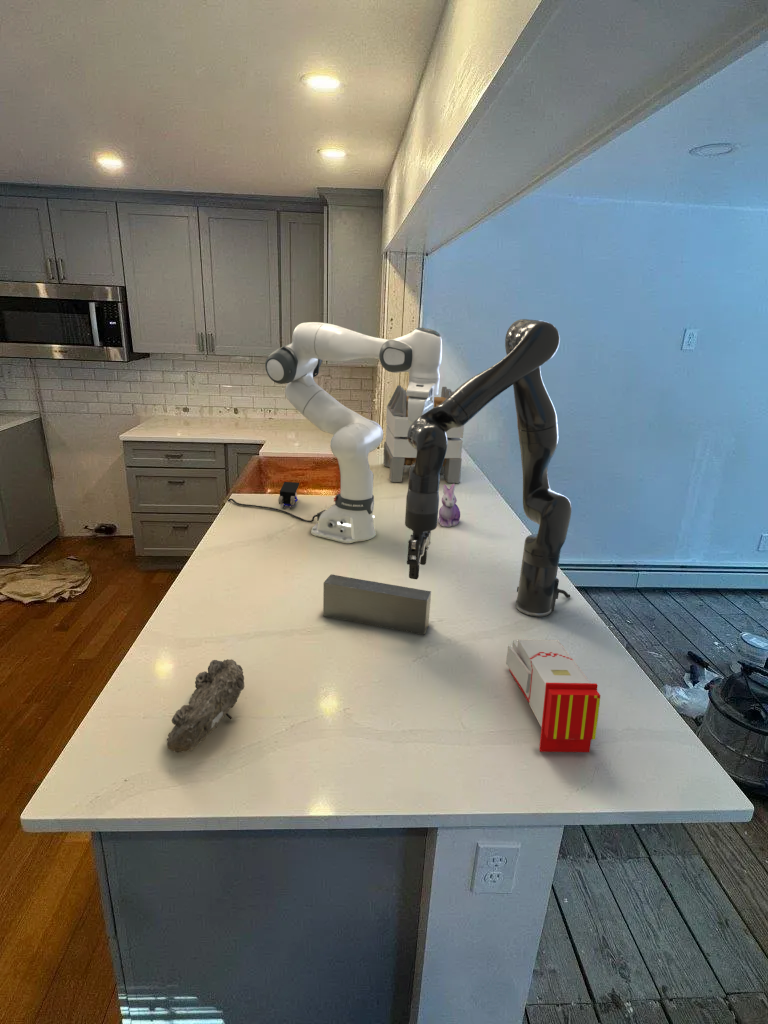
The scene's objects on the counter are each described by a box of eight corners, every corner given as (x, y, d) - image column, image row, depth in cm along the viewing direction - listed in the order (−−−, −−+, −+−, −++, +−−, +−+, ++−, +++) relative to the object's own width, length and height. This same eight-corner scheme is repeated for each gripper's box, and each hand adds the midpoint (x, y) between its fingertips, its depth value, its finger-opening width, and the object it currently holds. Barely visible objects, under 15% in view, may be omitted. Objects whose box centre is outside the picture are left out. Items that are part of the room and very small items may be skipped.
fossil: (192, 660, 117) (244, 628, 112) (224, 691, 120) (276, 661, 115) (142, 746, 98) (202, 712, 93) (182, 779, 101) (242, 748, 96)
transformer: (382, 463, 289) (386, 382, 275) (445, 464, 293) (451, 384, 279) (390, 482, 257) (394, 392, 243) (460, 483, 261) (468, 394, 247)
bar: (323, 616, 145) (323, 582, 142) (330, 606, 150) (330, 574, 146) (424, 635, 138) (427, 600, 135) (428, 624, 143) (431, 591, 140)
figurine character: (295, 514, 218) (300, 497, 231) (295, 496, 214) (299, 480, 228) (278, 513, 217) (283, 497, 231) (277, 495, 214) (283, 480, 227)
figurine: (445, 529, 206) (449, 489, 200) (430, 519, 214) (433, 481, 209) (467, 525, 210) (470, 487, 205) (451, 516, 218) (454, 479, 213)
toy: (554, 622, 128) (610, 691, 98) (548, 677, 130) (601, 759, 101) (501, 621, 127) (541, 690, 98) (496, 676, 130) (534, 758, 101)
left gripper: (420, 382, 173) (416, 427, 178) (405, 390, 155) (401, 440, 160) (440, 384, 172) (436, 429, 177) (427, 392, 153) (423, 442, 158)
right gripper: (431, 519, 123) (426, 586, 129) (443, 500, 136) (438, 561, 142) (398, 515, 125) (395, 581, 131) (413, 496, 138) (409, 557, 144)
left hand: (419, 434), depth 168 cm, fingers open, 8 cm apart
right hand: (417, 570), depth 136 cm, fingers open, 8 cm apart
